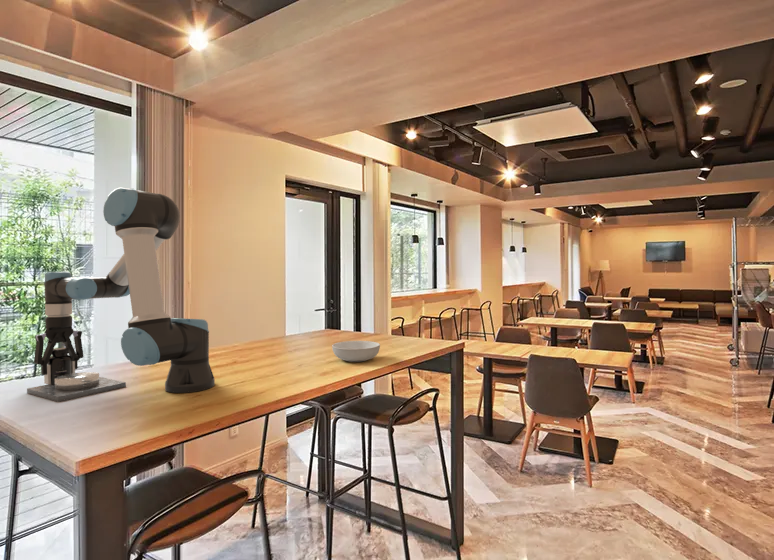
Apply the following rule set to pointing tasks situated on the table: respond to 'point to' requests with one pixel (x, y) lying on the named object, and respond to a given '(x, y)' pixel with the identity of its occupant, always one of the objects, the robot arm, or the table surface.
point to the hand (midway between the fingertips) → (60, 381)
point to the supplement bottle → (60, 363)
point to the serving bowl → (356, 350)
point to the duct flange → (75, 386)
